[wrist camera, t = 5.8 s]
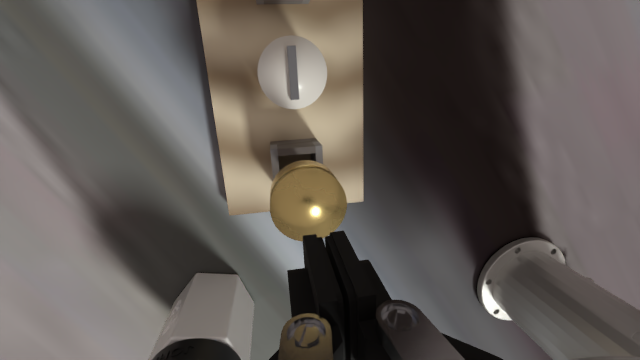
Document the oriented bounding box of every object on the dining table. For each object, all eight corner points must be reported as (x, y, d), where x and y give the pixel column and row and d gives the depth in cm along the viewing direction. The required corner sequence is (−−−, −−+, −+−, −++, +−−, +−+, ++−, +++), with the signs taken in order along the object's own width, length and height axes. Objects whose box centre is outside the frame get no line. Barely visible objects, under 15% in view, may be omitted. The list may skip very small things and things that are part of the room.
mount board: (187, -90, 24) (161, -144, 18) (355, -85, 26) (379, -133, 20) (231, 208, 32) (223, 233, 26) (358, 195, 34) (375, 216, 28)
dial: (257, 47, 26) (253, 35, 20) (314, 45, 27) (326, 33, 21) (263, 106, 27) (261, 111, 21) (316, 103, 28) (329, 107, 22)
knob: (267, 146, 25) (265, 173, 17) (323, 141, 26) (346, 166, 18) (273, 198, 27) (273, 245, 19) (325, 193, 27) (347, 236, 19)
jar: (206, 256, 33) (172, 343, 22) (266, 289, 36) (264, 383, 24) (162, 313, 34) (109, 424, 23) (223, 341, 37) (202, 454, 26)
